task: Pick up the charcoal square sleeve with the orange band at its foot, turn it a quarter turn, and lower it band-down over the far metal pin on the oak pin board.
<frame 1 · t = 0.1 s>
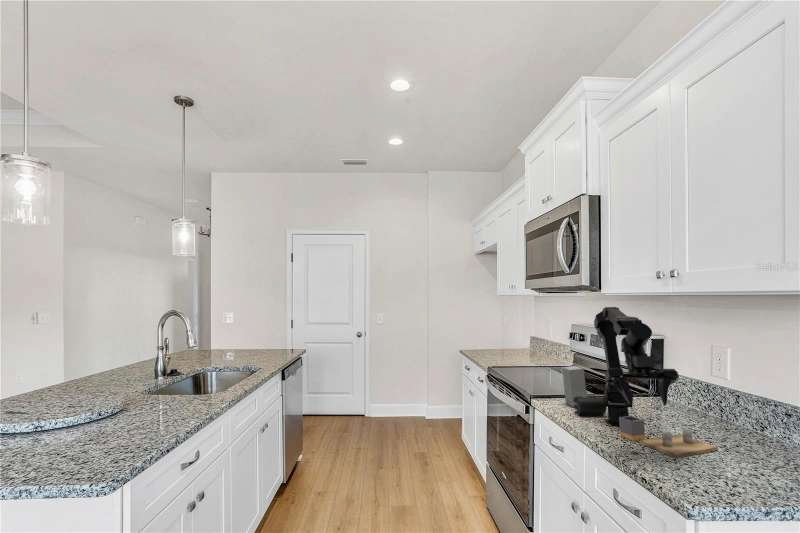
hand: (647, 404, 117), 15 cm above the worktop, tool tilted 30°, fingers open, 9 cm apart
skincare box: (575, 405, 171), on the worktop
sleeve: (632, 437, 132), on the worktop
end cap: (590, 415, 158), on the worktop
pin board: (678, 446, 123), on the worktop
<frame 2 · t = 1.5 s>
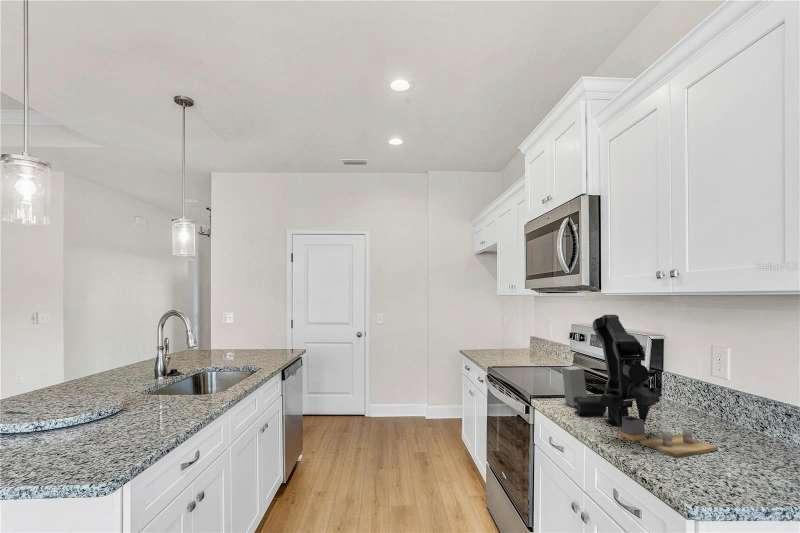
hand: (631, 424, 133), 4 cm above the worktop, tool pointing down, fingers open, 9 cm apart
nothing on the worktop moved.
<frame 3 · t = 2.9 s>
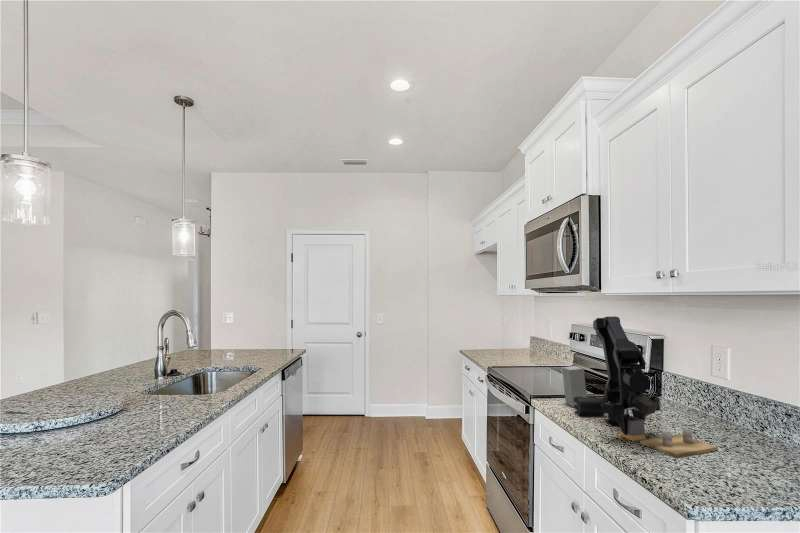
hand: (632, 433, 132), 1 cm above the worktop, tool pointing down, fingers closed on sleeve, 5 cm apart
sleeve: (632, 437, 132), on the worktop, touching gripper
everything else where it was.
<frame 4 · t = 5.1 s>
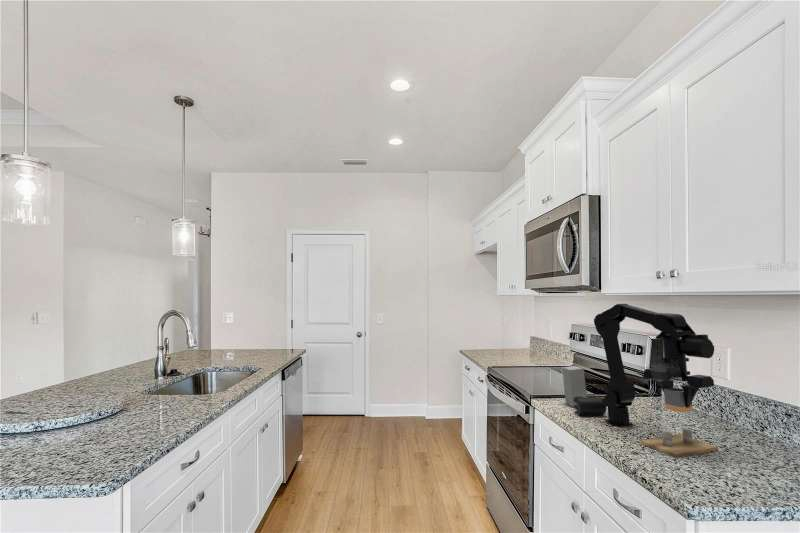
hand: (678, 405, 126), 12 cm above the worktop, tool pointing down, fingers closed on sleeve, 5 cm apart
sleeve: (679, 409, 126), point 11 cm above the worktop, touching gripper
everything else where it was.
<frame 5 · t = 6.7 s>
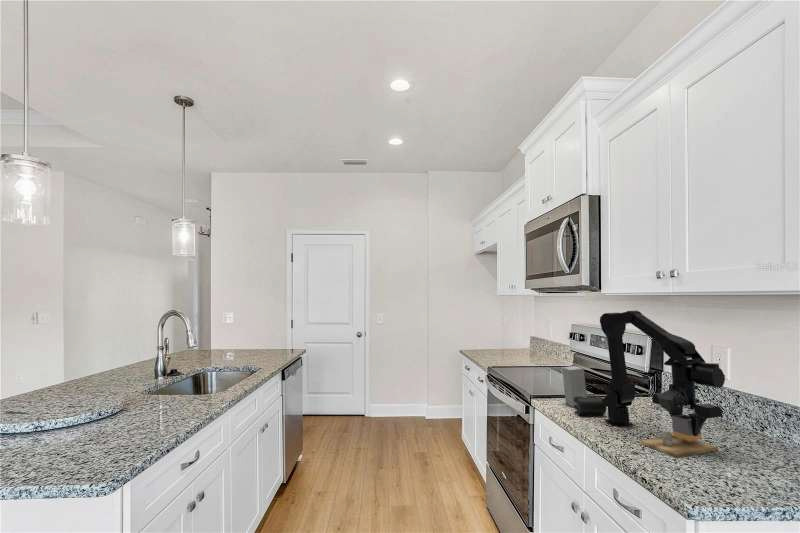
hand: (687, 433, 125), 4 cm above the worktop, tool pointing down, fingers closed on sleeve, 5 cm apart
sleeve: (687, 437, 125), point 2 cm above the worktop, touching gripper
everything else where it was.
when the fingers open (3 cm above the worktop, at t = 7.7 s): sleeve stays where it is, resting on pin board.
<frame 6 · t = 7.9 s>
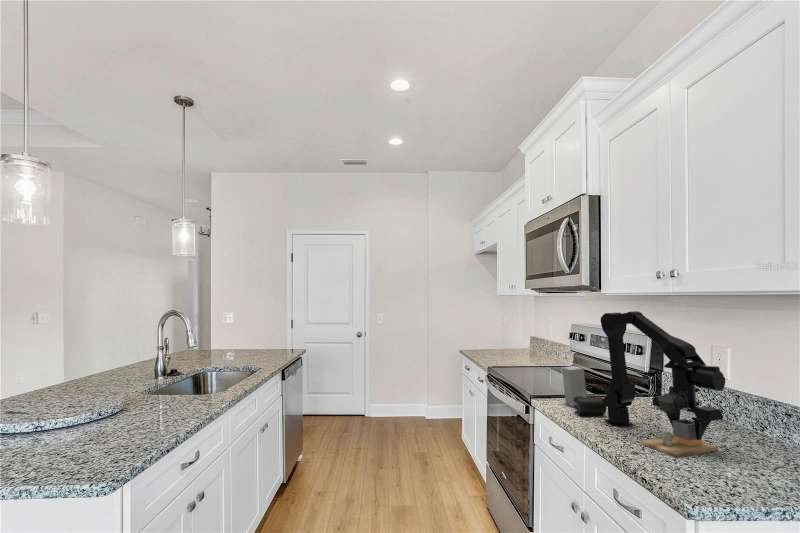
hand: (687, 435, 125), 3 cm above the worktop, tool pointing down, fingers open, 7 cm apart
sleeve: (687, 441, 124), point 1 cm above the worktop, touching pin board
everything else where it was.
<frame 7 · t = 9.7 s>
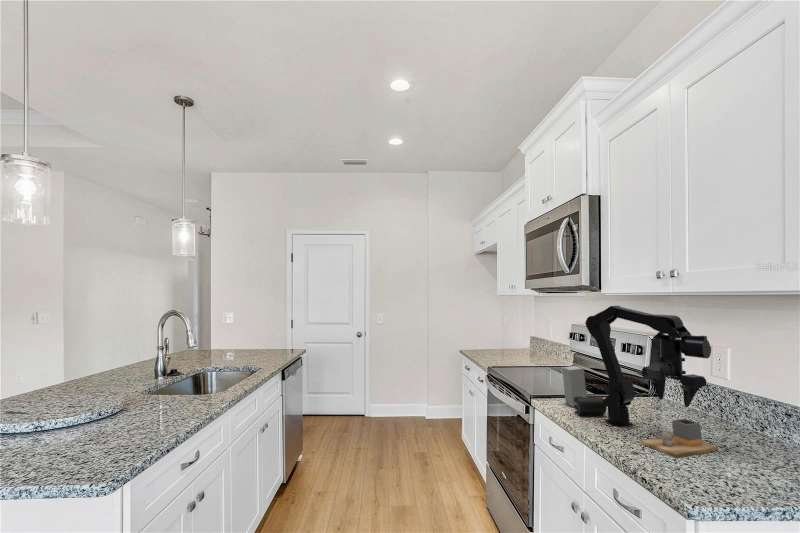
hand: (673, 402, 131), 11 cm above the worktop, tool pointing down, fingers open, 9 cm apart
nothing on the worktop moved.
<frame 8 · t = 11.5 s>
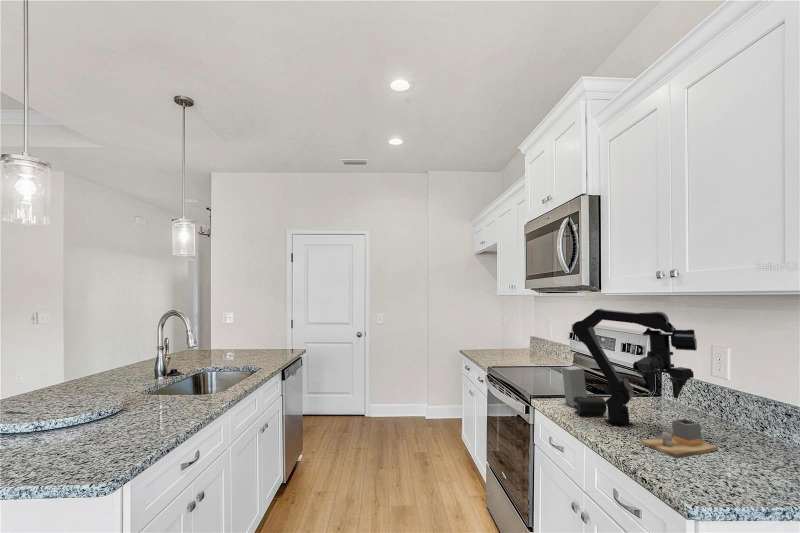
hand: (663, 395, 138), 12 cm above the worktop, tool pointing down, fingers open, 9 cm apart
nothing on the worktop moved.
at the end: sleeve 0.1 cm from the target spot on the pin board, point 1.0 cm above the pin board's base; sleeve tilted 0°; the gripper is holding nothing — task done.
